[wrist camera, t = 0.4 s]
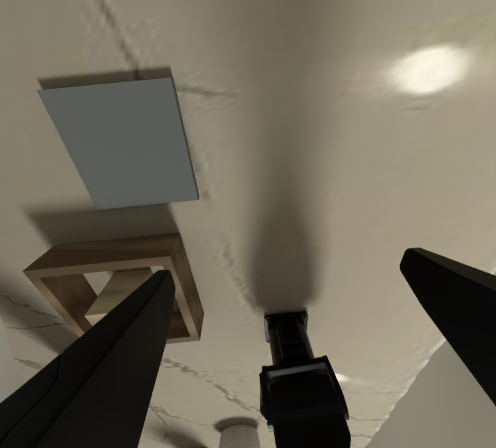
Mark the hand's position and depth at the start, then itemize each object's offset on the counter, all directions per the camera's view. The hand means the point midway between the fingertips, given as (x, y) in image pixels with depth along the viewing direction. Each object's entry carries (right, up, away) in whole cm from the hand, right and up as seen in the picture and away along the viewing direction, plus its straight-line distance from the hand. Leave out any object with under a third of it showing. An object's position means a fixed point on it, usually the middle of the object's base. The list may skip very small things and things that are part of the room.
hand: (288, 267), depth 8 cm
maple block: (-16, -6, +19) cm, 25 cm away
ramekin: (-4, -53, +48) cm, 71 cm away
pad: (-12, +8, +11) cm, 18 cm away
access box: (-16, -6, +19) cm, 25 cm away
